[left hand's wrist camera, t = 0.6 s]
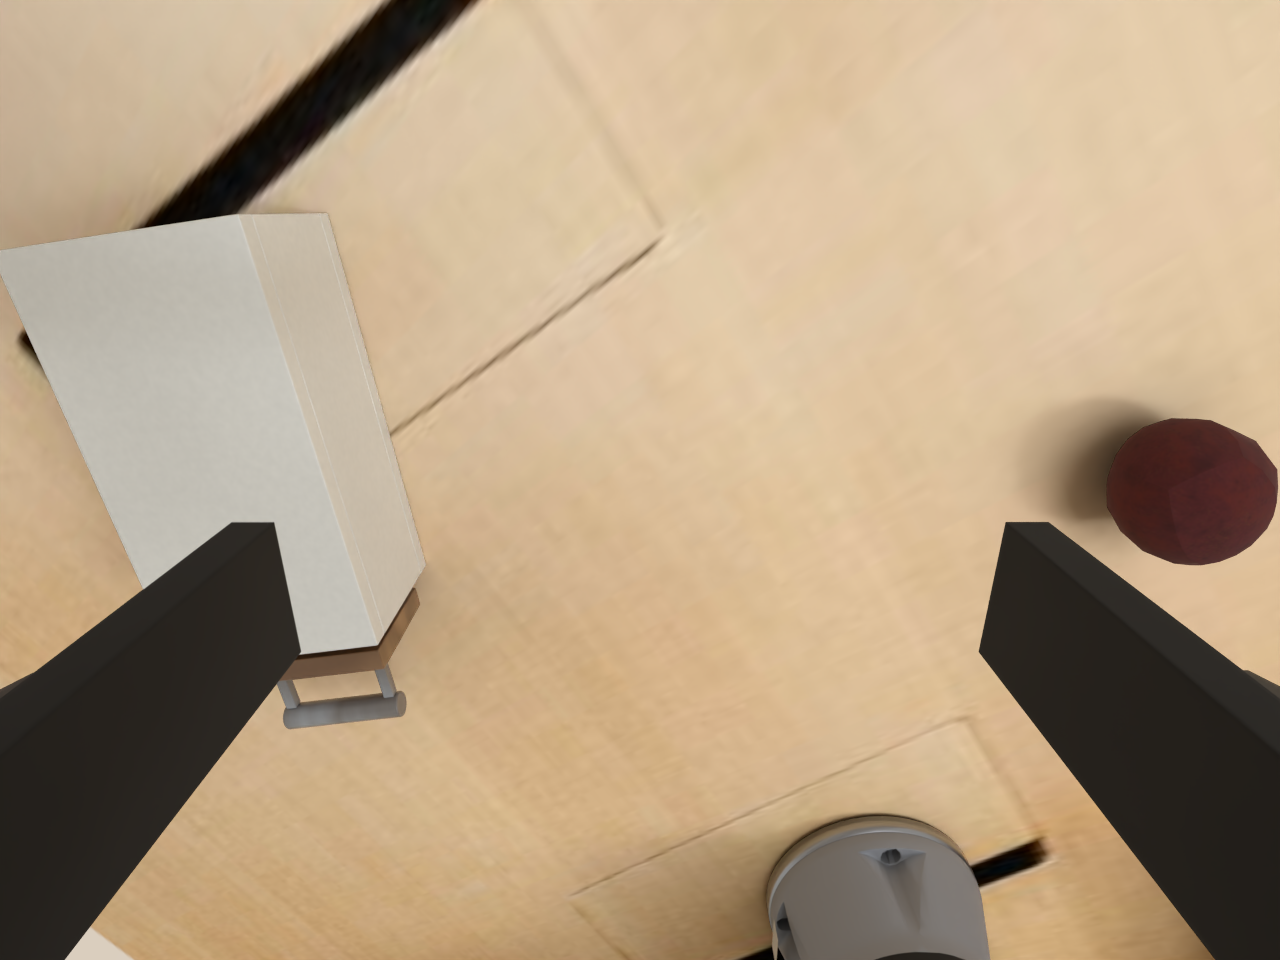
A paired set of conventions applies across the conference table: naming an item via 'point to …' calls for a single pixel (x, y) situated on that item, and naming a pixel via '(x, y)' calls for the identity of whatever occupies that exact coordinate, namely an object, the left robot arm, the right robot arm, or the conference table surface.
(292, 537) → the cabinet
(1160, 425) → the dark red ball
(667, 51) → the conference table surface
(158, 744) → the left robot arm
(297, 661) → the drawer
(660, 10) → the conference table surface
